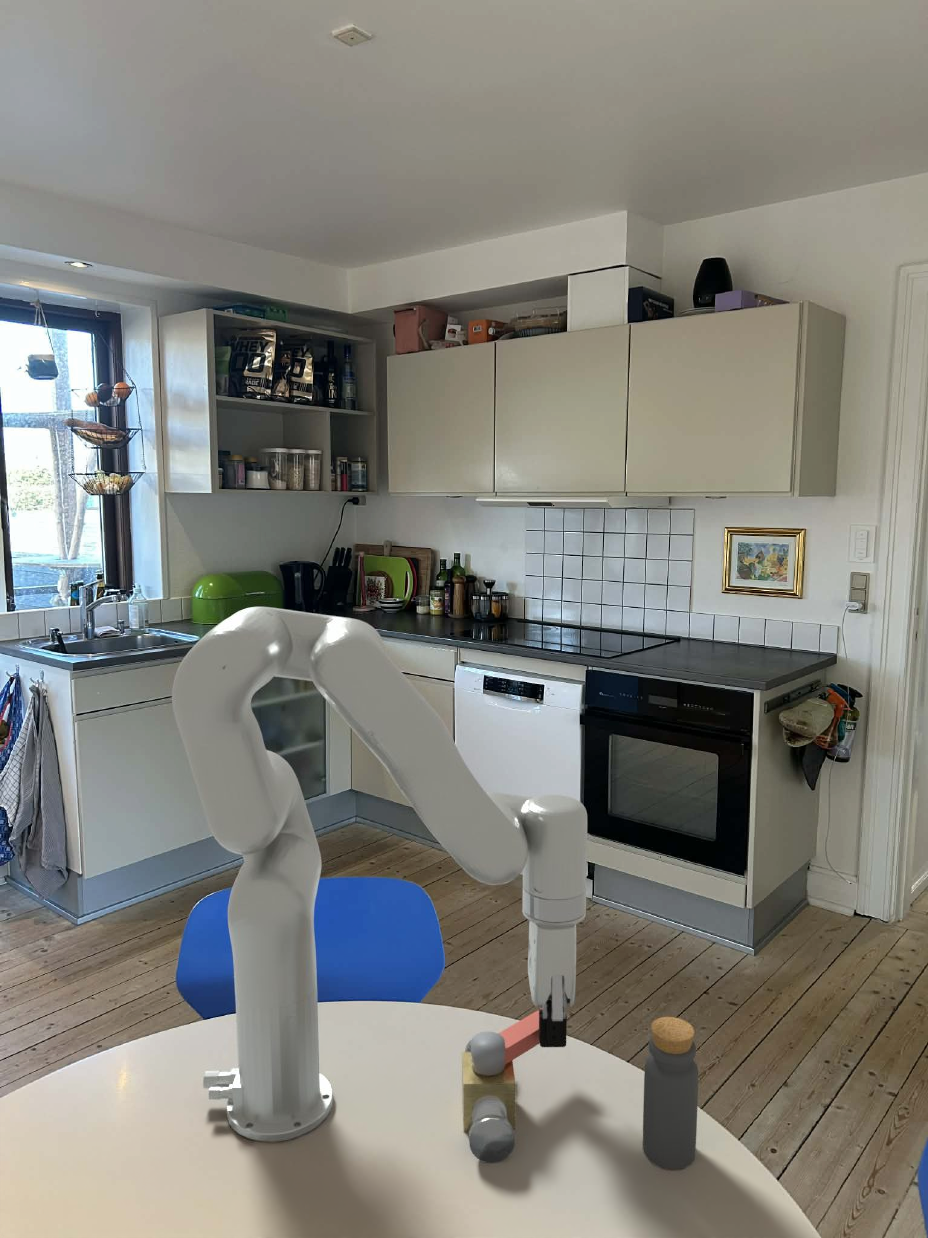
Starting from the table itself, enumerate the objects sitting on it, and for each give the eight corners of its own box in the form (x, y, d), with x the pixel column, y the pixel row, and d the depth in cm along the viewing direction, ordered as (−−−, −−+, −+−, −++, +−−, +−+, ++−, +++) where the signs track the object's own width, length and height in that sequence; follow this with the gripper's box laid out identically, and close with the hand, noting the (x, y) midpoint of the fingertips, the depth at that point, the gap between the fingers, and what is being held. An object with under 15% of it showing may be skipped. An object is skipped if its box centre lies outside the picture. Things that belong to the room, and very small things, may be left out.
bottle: (682, 1179, 99) (686, 1051, 97) (633, 1155, 102) (636, 1031, 100) (703, 1148, 103) (708, 1025, 101) (656, 1126, 107) (659, 1007, 105)
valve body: (464, 1163, 101) (464, 1114, 100) (461, 1071, 117) (460, 1028, 116) (519, 1162, 101) (519, 1113, 100) (507, 1070, 117) (507, 1027, 116)
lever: (487, 1080, 105) (487, 1056, 105) (464, 1064, 108) (464, 1041, 108) (566, 1031, 115) (567, 1009, 115) (542, 1018, 118) (543, 996, 117)
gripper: (518, 874, 116) (517, 1009, 119) (527, 931, 101) (526, 1083, 104) (577, 874, 116) (575, 1008, 119) (594, 931, 101) (592, 1083, 104)
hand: (552, 1043), depth 111 cm, fingers closed
